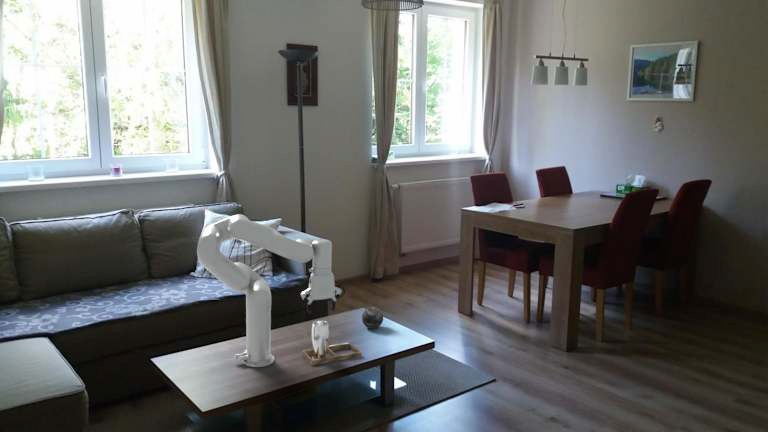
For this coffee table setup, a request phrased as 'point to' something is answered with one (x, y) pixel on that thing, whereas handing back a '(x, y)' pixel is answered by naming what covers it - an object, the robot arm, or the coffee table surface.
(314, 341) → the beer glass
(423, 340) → the coffee table surface
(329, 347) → the coaster frame
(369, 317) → the decorative stone
